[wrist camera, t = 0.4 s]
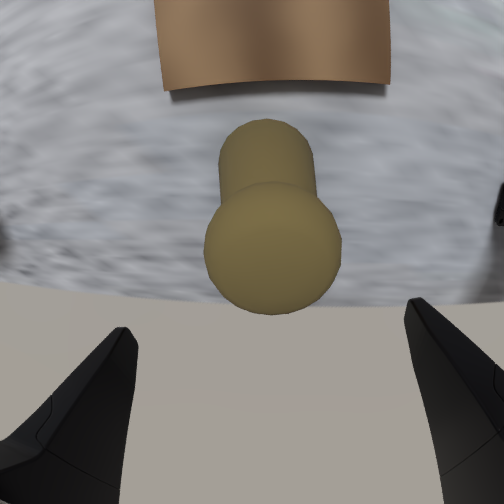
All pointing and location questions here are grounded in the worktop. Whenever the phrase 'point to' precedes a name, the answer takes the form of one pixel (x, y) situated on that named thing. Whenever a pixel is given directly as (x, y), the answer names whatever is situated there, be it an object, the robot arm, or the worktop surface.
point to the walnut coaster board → (272, 41)
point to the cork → (270, 223)
